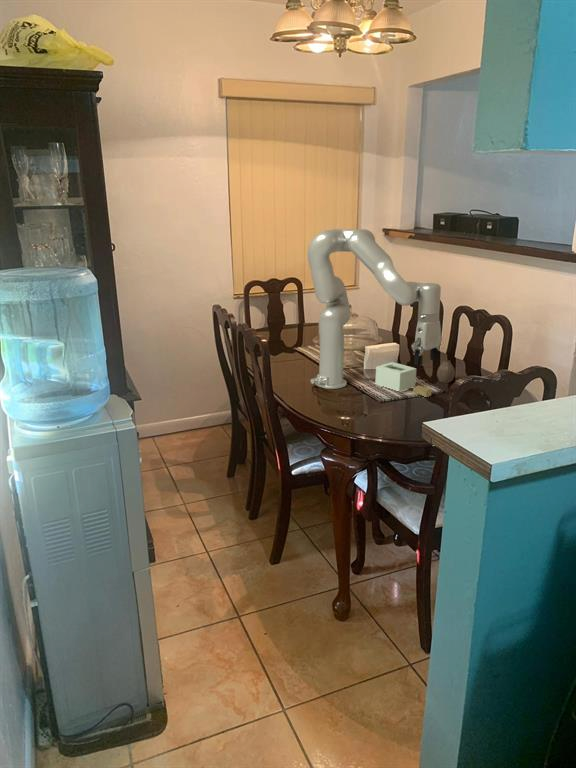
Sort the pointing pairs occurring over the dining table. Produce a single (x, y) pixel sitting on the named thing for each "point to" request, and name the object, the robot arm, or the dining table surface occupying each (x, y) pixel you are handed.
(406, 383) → the coin box
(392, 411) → the dining table surface
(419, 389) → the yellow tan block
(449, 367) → the vase
